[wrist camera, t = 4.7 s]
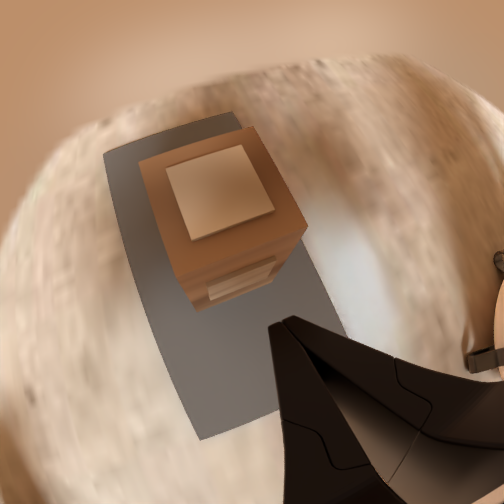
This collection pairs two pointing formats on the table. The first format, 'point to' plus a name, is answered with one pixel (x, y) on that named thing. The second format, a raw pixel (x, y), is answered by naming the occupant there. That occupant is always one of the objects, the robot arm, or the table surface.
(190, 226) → the brown rectangular block
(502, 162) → the table surface
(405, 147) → the table surface
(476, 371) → the coffee press
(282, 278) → the mat
